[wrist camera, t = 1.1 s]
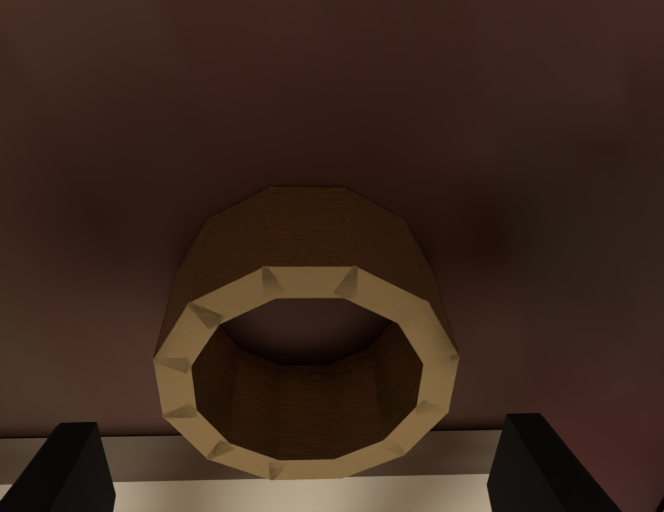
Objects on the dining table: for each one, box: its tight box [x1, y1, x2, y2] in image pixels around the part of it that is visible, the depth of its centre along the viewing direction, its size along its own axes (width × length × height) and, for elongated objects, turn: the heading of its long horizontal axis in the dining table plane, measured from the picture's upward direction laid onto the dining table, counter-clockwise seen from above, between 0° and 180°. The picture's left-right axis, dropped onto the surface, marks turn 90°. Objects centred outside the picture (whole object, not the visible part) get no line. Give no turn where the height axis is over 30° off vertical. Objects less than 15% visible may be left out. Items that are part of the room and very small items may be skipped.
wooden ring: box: [153, 186, 460, 481], centre depth 14 cm, size 6×6×3 cm
